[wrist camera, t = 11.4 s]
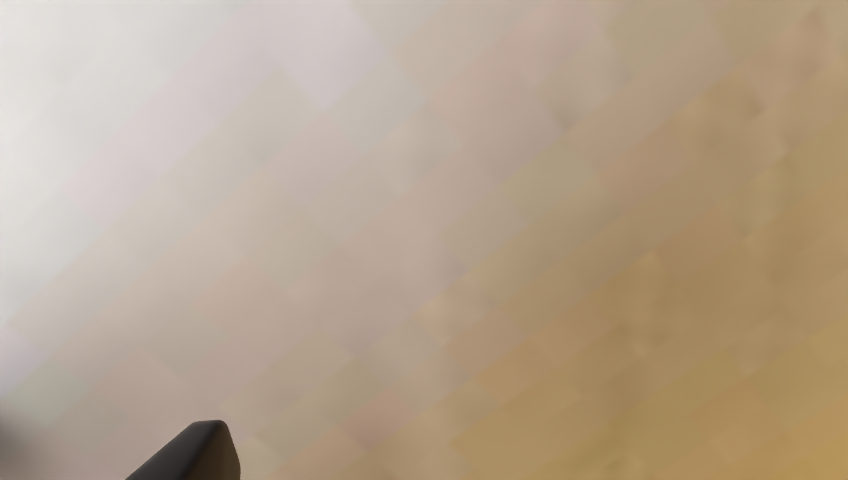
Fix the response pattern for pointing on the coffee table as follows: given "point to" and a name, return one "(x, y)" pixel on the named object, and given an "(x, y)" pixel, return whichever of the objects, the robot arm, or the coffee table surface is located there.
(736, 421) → the coffee table surface
